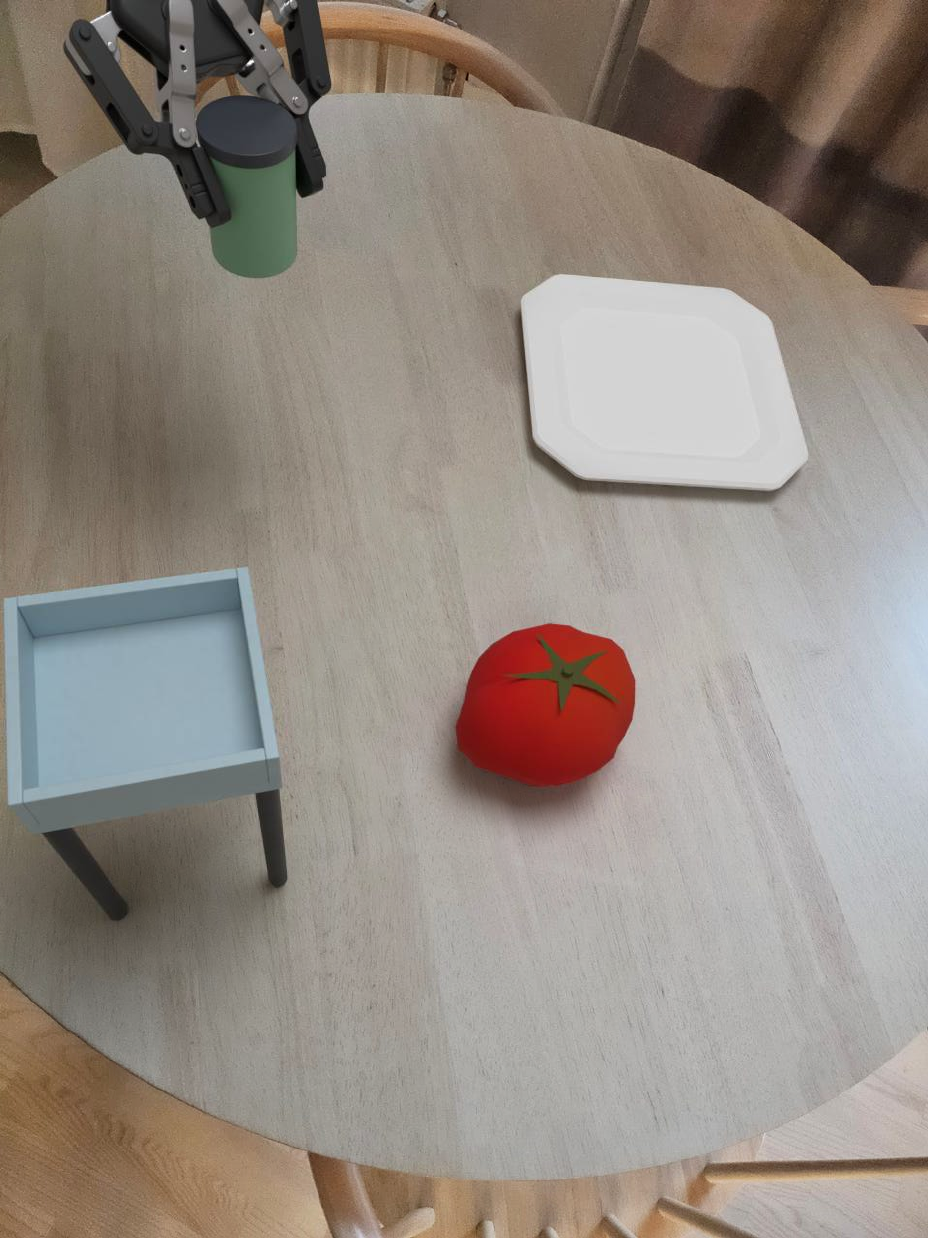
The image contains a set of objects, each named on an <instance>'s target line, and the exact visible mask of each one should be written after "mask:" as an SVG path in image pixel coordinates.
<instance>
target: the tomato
mask: <svg viewBox="0 0 928 1238" xmlns="http://www.w3.org/2000/svg"><path fill="white" fill-rule="evenodd" d="M636 681H637V680H636V678H635V675H634V673H633V671H632V667H631V665H630V663H629V660H628V657H627V655H626V653H625V650H624V649H623V648H622V647H621V646H620V645H618V643H616V642H615V641H614V640H613V639H612V638H609V637H604V636H601V635H597V634H593V633H589V632H585V631H582V630H580V629H578V628H576V627H573V626H572V625H570V624H563V623H561V624H560V623H553V622H549V623H544V624H540V625H535V626H532V627H527V628H522V629H518V630H514V631H511V632H510V633H508V634H506V635H504V636H502V637H501V638H500V639H498V640H496V641H495V642H493V643H492V644H490V645H489V646H488V647H487V649H486V650H484V652H483V653H481V655H480V656H479V657H478V658H477V660H476V662H475V664H474V666H473V667H472V670H471V672H470V674H469V677H468V680H467V683H466V688H465V693H464V698H463V699H464V700H463V703H462V706H461V709H460V712H459V715H458V718H457V721H456V724H455V733H456V740H457V748H458V750H459V751H460V752H461V753H462V754H463V755H464V756H465V757H466V758H467V759H468V760H469V761H470V763H472V765H473V766H474V767H475V768H477V769H480V770H483V771H486V772H488V773H489V772H490V773H492V774H495V775H498V776H501V777H504V778H507V779H510V780H512V781H516V782H518V783H522V784H525V785H527V786H532V787H534V788H539V787H540V788H541V787H560V786H564V785H569V784H572V783H575V782H577V781H579V780H582V779H584V778H587V777H589V776H591V775H593V774H596V773H597V772H599V771H600V770H601V769H602V768H603V767H605V766H606V765H607V764H608V763H610V762H611V761H612V760H613V759H614V758H615V755H616V751H617V749H618V747H619V745H620V744H621V742H622V741H623V739H624V738H625V736H626V734H627V732H628V730H629V728H630V726H631V724H632V721H633V719H634V712H635V706H636V683H637V682H636Z"/></svg>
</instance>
